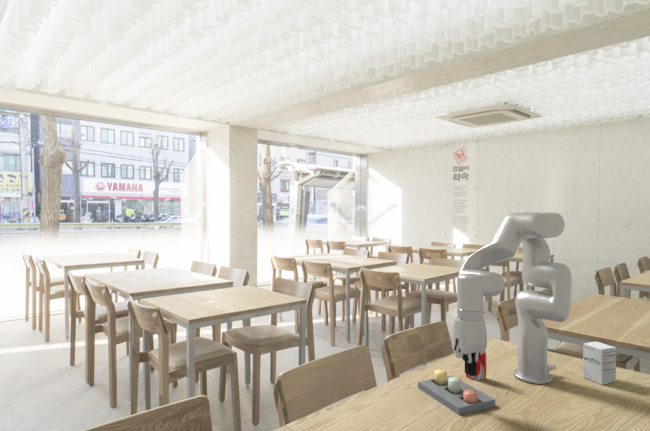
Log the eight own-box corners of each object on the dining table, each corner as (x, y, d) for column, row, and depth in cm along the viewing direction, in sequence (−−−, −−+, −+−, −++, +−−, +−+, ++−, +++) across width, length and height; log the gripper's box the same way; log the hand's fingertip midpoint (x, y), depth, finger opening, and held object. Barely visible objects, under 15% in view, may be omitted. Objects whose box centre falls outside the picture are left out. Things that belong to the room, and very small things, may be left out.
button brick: (470, 401, 129) (470, 388, 128) (480, 407, 125) (480, 394, 125) (460, 404, 127) (460, 391, 127) (469, 409, 123) (469, 396, 123)
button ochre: (441, 380, 141) (441, 368, 141) (449, 384, 138) (449, 372, 138) (432, 382, 140) (432, 370, 140) (439, 386, 136) (439, 374, 136)
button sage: (455, 388, 135) (455, 376, 135) (463, 393, 131) (464, 380, 131) (445, 390, 133) (445, 378, 133) (453, 395, 130) (453, 382, 130)
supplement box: (582, 377, 150) (582, 342, 150) (596, 374, 152) (596, 340, 152) (601, 385, 143) (601, 349, 143) (616, 382, 145) (617, 346, 145)
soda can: (487, 383, 144) (488, 349, 144) (466, 382, 146) (466, 348, 146) (484, 375, 151) (484, 343, 151) (464, 374, 153) (464, 342, 153)
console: (451, 384, 144) (451, 375, 144) (495, 409, 126) (495, 399, 126) (417, 390, 139) (417, 381, 139) (458, 418, 120) (458, 408, 120)
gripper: (479, 309, 132) (480, 366, 132) (442, 314, 126) (442, 374, 127) (498, 314, 125) (498, 374, 126) (459, 320, 119) (459, 383, 120)
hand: (470, 374), depth 126 cm, fingers closed
